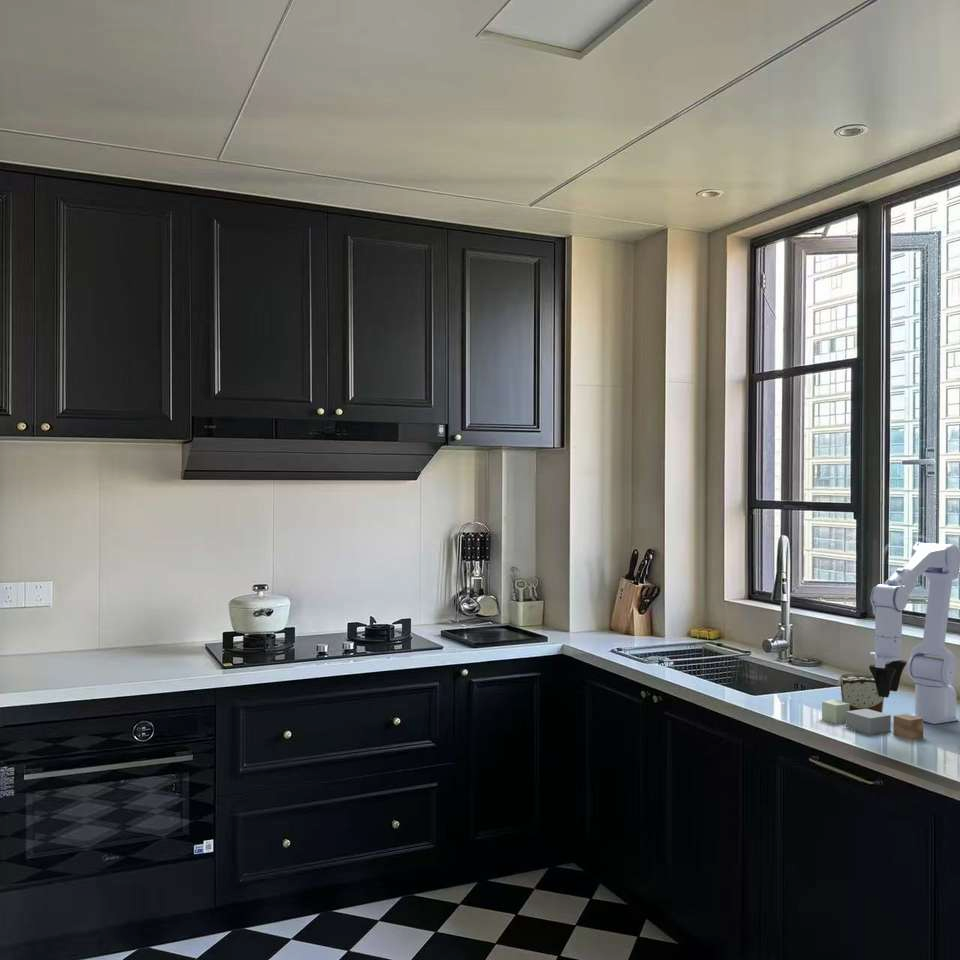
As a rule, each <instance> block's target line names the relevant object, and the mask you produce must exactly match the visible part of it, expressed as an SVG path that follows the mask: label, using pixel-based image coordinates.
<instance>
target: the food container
mask: <svg viewBox="0 0 960 960" xmlns="http://www.w3.org/2000/svg"><path fill="white" fill-rule="evenodd" d="M837 686H840V695H841V701H842V702H845V703H849V704H850V709H849V711H853V710H860V709H870V710H874V711H877V712H881V713H883V710H884V709H883V708H884V701H885V697H880V696H878V693H877V688H876V684H875V680H874V677H873V675H872V673H865V672H864V673H862V672H846V673H842V674H840V675H839V677H838V681H837Z"/></svg>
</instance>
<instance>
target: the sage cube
mask: <svg viewBox="0 0 960 960" xmlns="http://www.w3.org/2000/svg"><path fill="white" fill-rule="evenodd" d="M849 709H850V704H849V703H845V702H842V700H839V699H830V700H823V701H821V719H822V720H823V719H824V721H827V722H830V721H831V722H830V723H833V722H834V723H833V724H841V723H840V722H843V723H846V711H849Z"/></svg>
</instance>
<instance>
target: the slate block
mask: <svg viewBox="0 0 960 960" xmlns="http://www.w3.org/2000/svg"><path fill="white" fill-rule="evenodd" d="M891 716H892V715H891V714H887V713H884V712H882V713H881V712H877V711H874V710H870V709H860V710H853V711H846V722H845V727H846V728H847V727H849V728H848V729H851V728H852V729H851V730H854V729H855V730H854V731H857V730H858V732H860V731H861V733H863V734H864V733H865V734H868V735H875V734H880V733H881V734H882V733H887V732H891V727H892V726H891V725H892V724H891V723H892V722H891V720H892V719H891Z"/></svg>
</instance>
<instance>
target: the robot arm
mask: <svg viewBox="0 0 960 960" xmlns="http://www.w3.org/2000/svg"><path fill="white" fill-rule="evenodd" d="M910 556H911V558H910V559H909V561H908V563H906V565H905V566H904V567H897V569H895V571H894V572H893V573H892V574H891V575H890V576H889V577H888V579H887V580H885V582H884V583H883V584H880V583H879V584H877V585H875V586H874V587H872V590H871V593H870V596H869V597H870V598H869V599H870V604H871V607H872V614H873V616H875V617H874V623H875V625H874V627H875V628H874V629H875V630H874V632H875V633H874V635H875V636H874V639H875V640H874V651H870V652H869V656H870V657H873V658H874V664H869V666H868V669H869V671H870V674H872V675H873V677H874V680H875V684H876V688H877V693H878V696H880V697H884V698H889V697H890V694H891V692H898V689H899V686H900V682H901V677H902V674H903V671H904V670H905V667H906V666H907V669H906V670H907V673H908V675H909V677H910V678H911V679H912V682H913V683H915V689H914V690H915V692H914V693H915V695H914V700H915V701H914V713H910V715H913V716H917V717H921V718H923V722H926V723H928V724H933V725H935V724H943V723H944V724H945V723H949V722H950V723H951V722H955V721H960V718H959V717H957V692H956V689H955V688H954V687H953V685H952V683H954V681H955V679H956V676H957V667H956V656H955V655H954V653H953V652H952V651H951V650H950V649H948V647H946V645H945V643H946V635H947V627H948V618H949V611H950V602H951V594H952V585H953V581H954V580H957V579H958V578H959V573H960V549H959V547H958V545H956V544H954V543H951V544H948V543H947V544H945V543H934V542H933V543H930V542H922V541H917V542H916V543H915V544H914V545H913V547H912V548H911V555H910ZM921 575H922V576H924V578H925V577H926V578H927V579H928V581H929V587H928V588H929V589H928V596H927V603H926V612H925V618H924V619H925V621H924V626H923V627H924V628H923V629H924V630H923V637H922V642H921V643H919V644H918V645H916V646H914V647H913V648H912V649H911V652H910V653H911V654H910V656H909V659H908V662H907V660H903V654H902V651H903V648H902V646H903V644H902V642H903V637H902V636H903V628H902V627H903V611H904V610H905V609H906V607H907V604H908V600H909V598H910V594H911V593H912V592H913V590H914V589H916V587H917V586H918V583H919V579H918V578H919V577H920V576H921ZM933 656H934V657H933ZM939 657H940V658H939Z"/></svg>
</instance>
